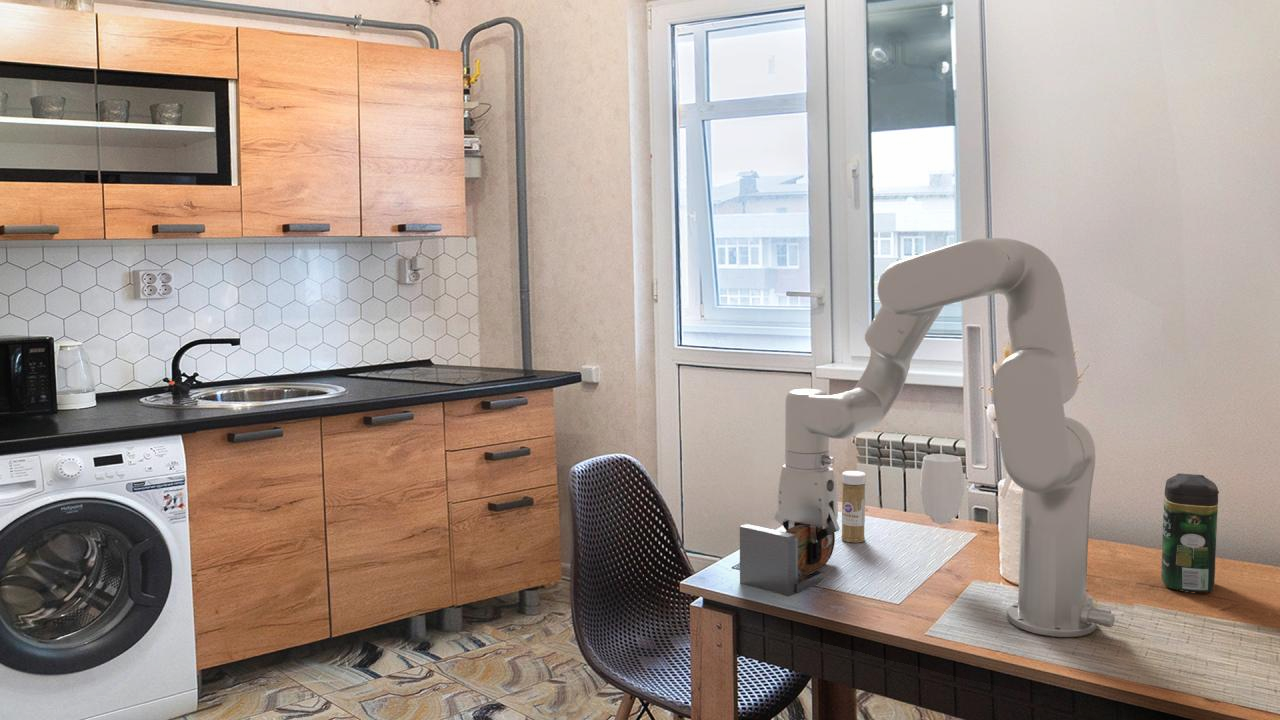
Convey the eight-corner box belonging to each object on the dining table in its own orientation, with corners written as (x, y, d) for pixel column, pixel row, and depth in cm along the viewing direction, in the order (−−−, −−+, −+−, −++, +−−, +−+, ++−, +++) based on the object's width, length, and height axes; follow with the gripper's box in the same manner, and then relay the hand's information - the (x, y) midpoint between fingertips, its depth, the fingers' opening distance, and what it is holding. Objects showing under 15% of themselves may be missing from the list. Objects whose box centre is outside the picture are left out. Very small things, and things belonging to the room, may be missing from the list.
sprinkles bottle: (838, 541, 197) (839, 474, 196) (845, 535, 201) (845, 469, 200) (861, 544, 195) (862, 476, 194) (868, 538, 199) (868, 471, 198)
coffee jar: (1158, 573, 176) (1163, 468, 174) (1211, 579, 173) (1216, 472, 171) (1161, 591, 168) (1166, 481, 165) (1216, 597, 164) (1222, 485, 162)
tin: (788, 582, 175) (791, 535, 173) (773, 577, 177) (776, 530, 176) (835, 560, 186) (838, 516, 184) (820, 556, 188) (823, 512, 187)
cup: (961, 582, 173) (963, 463, 171) (917, 578, 176) (919, 461, 173) (962, 569, 180) (964, 454, 178) (919, 566, 182) (921, 452, 180)
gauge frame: (822, 580, 175) (823, 524, 174) (789, 596, 168) (790, 537, 167) (772, 568, 182) (772, 513, 181) (738, 582, 175) (738, 525, 174)
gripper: (858, 462, 176) (857, 565, 178) (780, 450, 187) (780, 547, 189) (835, 470, 171) (834, 576, 173) (756, 457, 181) (756, 557, 184)
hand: (806, 560), depth 181 cm, fingers closed on tin, 2 cm apart
